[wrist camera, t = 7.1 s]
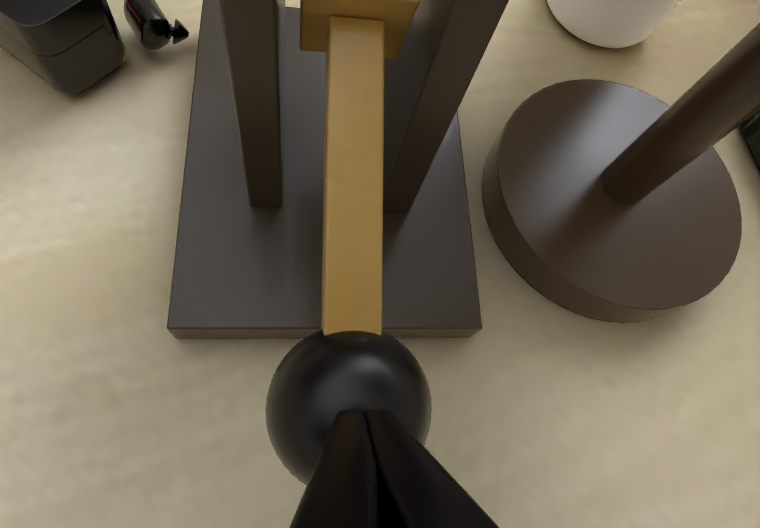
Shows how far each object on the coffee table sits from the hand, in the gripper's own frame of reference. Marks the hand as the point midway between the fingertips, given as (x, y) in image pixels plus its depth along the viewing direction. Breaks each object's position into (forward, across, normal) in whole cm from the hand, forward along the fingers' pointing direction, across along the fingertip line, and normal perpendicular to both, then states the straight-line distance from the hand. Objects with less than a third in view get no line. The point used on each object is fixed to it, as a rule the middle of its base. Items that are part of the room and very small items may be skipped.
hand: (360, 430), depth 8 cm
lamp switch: (+11, 0, -2) cm, 11 cm away
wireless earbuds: (+15, +9, -5) cm, 18 cm away
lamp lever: (+5, 0, -2) cm, 6 cm away
